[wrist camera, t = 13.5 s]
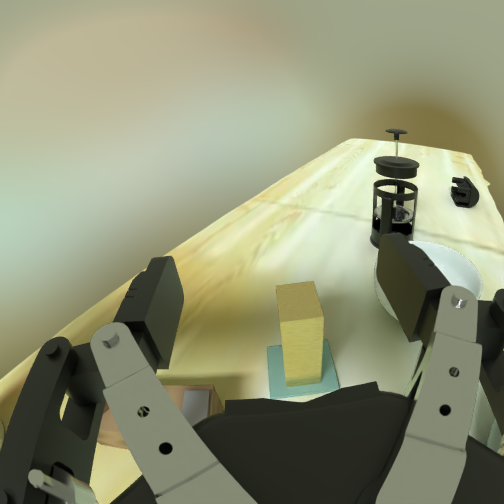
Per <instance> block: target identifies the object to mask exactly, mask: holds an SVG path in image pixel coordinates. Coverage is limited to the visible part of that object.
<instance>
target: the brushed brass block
mask: <svg viewBox="0 0 504 504" xmlns="http://www.w3.org/2000/svg"><path fill="white" fill-rule="evenodd" d="M276 294H277V303H278V313H279V322H280V332H281V342H282V352H283V361H284V371H285V380H286V388H287V387H296V386H303V385H310V384H317V383H320V380H321V366H322V349H323V327H324V315H323V312H322V308H321V305H320V302H319V298H318V295H317V291H316V288H315V285H314V281H310V282H302V283H294V284H286V285H278V286H276Z"/></svg>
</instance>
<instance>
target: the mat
mask: <svg viewBox="0 0 504 504" xmlns="http://www.w3.org/2000/svg"><path fill="white" fill-rule="evenodd" d="M267 354H268V370H269V387H270V399H276V398H286V397H294V396H302V395H309V394H316V393H322V392H329V391H334V390H338V389H339V385H338V381H337V377H336V372H335V368H334V364H333V360H332V356H331V353H330V349H329V345H328V341H327V339H324V340H323V349H322V366H321V380H320V383H317V384H310V385H303V386H296V387H287V388H286V380H285V371H284V361H283V352H282V345H279V346H271V347H267Z"/></svg>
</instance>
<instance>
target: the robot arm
mask: <svg viewBox="0 0 504 504" xmlns="http://www.w3.org/2000/svg"><path fill="white" fill-rule="evenodd" d="M376 276H377V280H378V283H379V285H380V287H381V289H382V290H383V292H384V294H385V296H386V298H387V300H388V301H389V303H390V305H391V307H392V309H393V311H394V313H395V315H396V316H397V318H398V320H399V322H400V324H401V326H402V328H403V330H404V332H405V334H406V336H407V338H408V340H409V342H414V341H418V340H421V341H422V343H423V344H422V346H421V349H420V352H419V355H418V358H417V362H416V365H415V368H414V371H413V374H412V377H411V380H410V382H409V385H408V388H407V390H406V393H405V395H404V396H403V395H401V394H397V393H392V392H385V391H379V388H378V385H377V382H376V381H375V382H370V383H366V384H361V385H356V386H351V387H345V388H341V389H338V390H336V391H333V392H331V393H328V394H326V395H323V396H321V397H318V398H316V399H313V400H310V401H307V402H291V401H282V400H274V399H266V398H258V399H243V400H225V411H222V412H218V413H216V414H213V415H210V416H208V417H206V418H204V419H202V420H201V421H199V422H198V423H196V424H195V425H193V426H192V427H191V425H190V424H189V423H188V421H187V420H186V419H185V417H184V416H183V414H182V413H181V412H180V410H179V409H178V407H177V406H176V404H175V403H174V402H173V400H172V399H171V397H170V396H169V394H168V393H167V391H166V390H165V388H164V387H163V385H162V384H161V382H160V380H159V379H158V377H157V376H156V372H157V369H168V368H169V364H170V359H171V354H172V350H173V345H174V341H175V337H176V332H177V328H178V324H179V320H180V315H181V311H182V307H183V303H184V294H183V288H182V285H181V282H180V279H179V275H178V272H177V269H176V265H175V262H174V259H173V257H172V256H165V257H155V258H152V259H151V261H150V263H149V265H148V267H147V270H146V271H143V272H141V273H139V274H138V275H137V276H136V277H135V278H134V279H133V281H132V283H131V285H130V287H129V289H128V290H129V291H127V293H126V295H125V298H124V299H123V301H122V303H121V305H120V308H119V310H118V312H117V314H116V316H115V318H114V321H113V323H109V324H107V325H104V326H103V327H101V328H100V329H98V330H97V331H96V332H95V333H94V335H93V336H92V339H91V342H90V343H86V344H82V345H78V346H74V347H73V346H72V345H71V343H70V342H69V340H68V339H67V338H65V337H55V338H53V339H51V340H49V341H47V342H46V343H45V344H44V345H43V346H42V348H41V349H40V351H39V353H38V355H37V357H36V359H35V361H34V364H33V366H32V368H31V370H30V372H29V375H28V377H27V379H26V381H25V384H24V386H23V389H22V391H21V393H20V396H19V398H18V401H17V404H16V406H15V409H14V411H13V414H12V417H11V420H10V423H9V426H8V428H7V431H6V435H5V438H4V427H3V424H2V422H1V421H0V449H1V451H0V504H99V503H98V502H97V500H96V497H95V494H94V492H93V490H92V488H91V487H90V486H89V483H90V477H91V471H92V465H93V459H94V454H95V448H96V443H97V438H98V434H99V429H100V424H101V420H102V416H103V411H104V407H105V403H106V401H107V404H108V406H109V408H110V411H111V413H112V415H113V418H114V420H115V422H116V424H117V426H118V428H119V430H120V433H121V435H122V437H123V439H124V441H125V443H126V445H127V447H128V448H129V450H130V452H131V454H132V456H133V458H134V460H135V462H136V463H137V465H138V467H139V469H140V470H141V472H142V475H141V476H140V477H139V478H138V479H137V480H136V481H135V482H134V483H133V484H131V485H130V486H129V487H128V488H127V489H126V490H125V491H124V492H123V493H121V494H120V495H119V496H118V497H117V498H116V499H114V500H113V501H112V502H111V503H110V504H504V351H503V349H504V289H500V290H498V291H497V292H496V293H495V296H494V298H493V300H492V301H483V300H477V298H476V296H475V295H474V294H473V293H472V292H471V291H470V290H468V289H466V288H464V287H461V286H456V285H451V283H450V282H449V281H448V280H447V278H446V277H445V276H444V275H443V273H442V272H441V271H440V270H439V269H438V267H437V266H435V264H434V262H433V261H432V260H431V259H429V257H428V255H427V254H426V253H425V252H424V251H423V250H422V249H421V248H419V247H417V246H416V245H414V244H410V243H409V242H408V241H407V239H406V238H405V237H404V236H403V235H402V234H401V233H390V234H382V235H381V237H380V243H379V251H378V259H377V266H376ZM479 380H480V382H481V385H482V387H483V389H484V391H485V394H486V396H487V399H488V401H489V403H490V406H491V408H492V411H493V414H494V416H495V419H496V421H497V424H498V427H499V430H500V433H501V436H502V440H501V448H500V449H499V450H498V452H495V451H494V450H492V449H490V448H489V447H487V446H486V445H484V444H482V443H481V442H479V441H477V440H476V439H474V438H473V437H471V436H469V435H468V433H469V429H470V425H471V420H472V416H473V411H474V406H475V400H476V395H477V388H478V382H479ZM65 393H66V394H67V395H68V396H69V398H68V402H67V405H66V408H65V411H64V415H63V418H62V421H61V419H60V408H61V404H62V401H63V398H64V395H65Z"/></svg>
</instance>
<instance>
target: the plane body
mask: <svg viewBox="0 0 504 504" xmlns="http://www.w3.org/2000/svg"><path fill="white" fill-rule="evenodd" d="M163 387H164V388H165V390H166V391H167V393H168V394H169V396H170V397H171V399H172V400H173V402H174V403H175V404H176V406H177V407H178V409H179V410H180V412H181V413H182V414H183V416H184V417H185V419H186V420H187V421H188V423H189V424H190V425H191V427H192V426H193V425H195V424H196V423H198V422H199V421H201V420H202V419H204V418H206V417H208V416H210V415H213V414H216V413H218V412H222V411H223V406H222V404H221V402H220V400H219V397H218V395H217V393H216V391H215V388H214V386H213V385H163ZM97 442H98V443H99V444H102V445H107V446H112V447H118V448H124V449H129V448H128V447H127V445H126V443H125V441H124V439H123V437H122V435H121V433H120V430H119V428H118V426H117V424H116V422H115V420H114V418H113V415H112V413H111V411H110V408H109V406H108V404H107V401H106V403H105V407H104V411H103V416H102V420H101V424H100V429H99V434H98V438H97Z"/></svg>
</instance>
